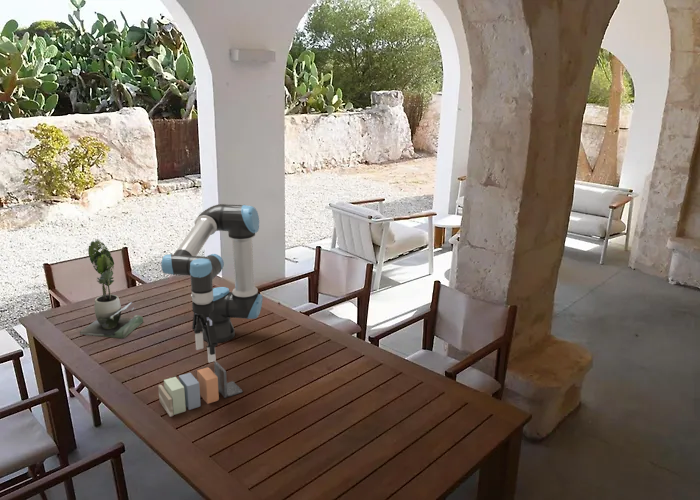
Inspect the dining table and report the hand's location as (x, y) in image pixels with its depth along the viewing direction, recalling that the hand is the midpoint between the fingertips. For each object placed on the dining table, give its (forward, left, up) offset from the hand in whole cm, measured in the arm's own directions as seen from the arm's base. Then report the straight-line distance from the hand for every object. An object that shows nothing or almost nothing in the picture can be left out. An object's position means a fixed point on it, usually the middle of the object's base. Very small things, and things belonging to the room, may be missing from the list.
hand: (205, 354), depth 215 cm
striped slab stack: (+8, -1, -18) cm, 20 cm away
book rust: (0, 0, -18) cm, 18 cm away
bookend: (-9, 0, -18) cm, 20 cm away
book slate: (+7, 0, -18) cm, 19 cm away
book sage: (+13, 0, -18) cm, 22 cm away
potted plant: (+15, -82, -18) cm, 85 cm away
